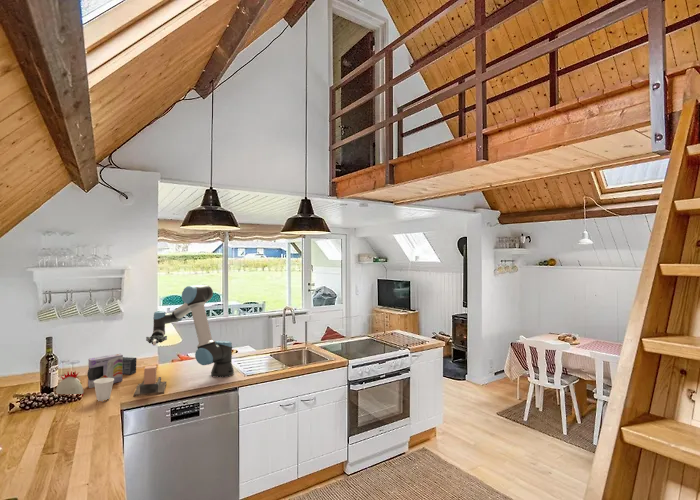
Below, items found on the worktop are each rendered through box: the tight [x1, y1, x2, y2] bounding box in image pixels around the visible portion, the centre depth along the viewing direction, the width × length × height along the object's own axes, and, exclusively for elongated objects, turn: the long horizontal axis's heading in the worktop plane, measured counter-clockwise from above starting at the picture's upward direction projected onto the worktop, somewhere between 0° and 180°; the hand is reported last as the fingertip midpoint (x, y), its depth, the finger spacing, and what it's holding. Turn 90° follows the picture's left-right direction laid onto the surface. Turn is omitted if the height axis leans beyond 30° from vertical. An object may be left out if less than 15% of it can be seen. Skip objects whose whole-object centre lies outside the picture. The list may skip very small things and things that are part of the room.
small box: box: [122, 356, 138, 376], centre depth 268 cm, size 11×6×10 cm, turn 84°
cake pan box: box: [86, 353, 124, 389], centre depth 245 cm, size 19×5×18 cm, turn 137°
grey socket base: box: [132, 376, 167, 398], centre depth 238 cm, size 16×20×6 cm
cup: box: [94, 378, 114, 402], centre depth 220 cm, size 10×10×11 cm
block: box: [143, 364, 158, 384], centre depth 233 cm, size 6×6×14 cm
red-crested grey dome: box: [55, 370, 84, 397], centre depth 223 cm, size 14×14×15 cm
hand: (154, 343), depth 249 cm, fingers closed
